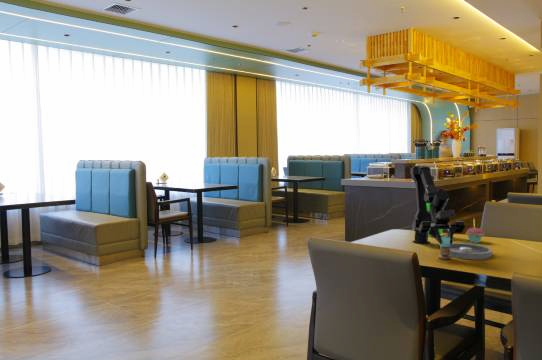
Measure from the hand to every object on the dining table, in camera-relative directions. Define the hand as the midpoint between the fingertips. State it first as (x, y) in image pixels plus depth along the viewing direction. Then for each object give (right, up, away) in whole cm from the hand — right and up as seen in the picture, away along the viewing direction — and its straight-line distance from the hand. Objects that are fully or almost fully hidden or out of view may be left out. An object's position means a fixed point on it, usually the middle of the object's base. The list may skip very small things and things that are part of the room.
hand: (446, 243), depth 194 cm
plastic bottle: (+13, -3, +53) cm, 54 cm away
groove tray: (+13, -6, +11) cm, 18 cm away
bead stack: (0, -6, +2) cm, 7 cm away
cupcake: (+29, -4, +36) cm, 47 cm away
